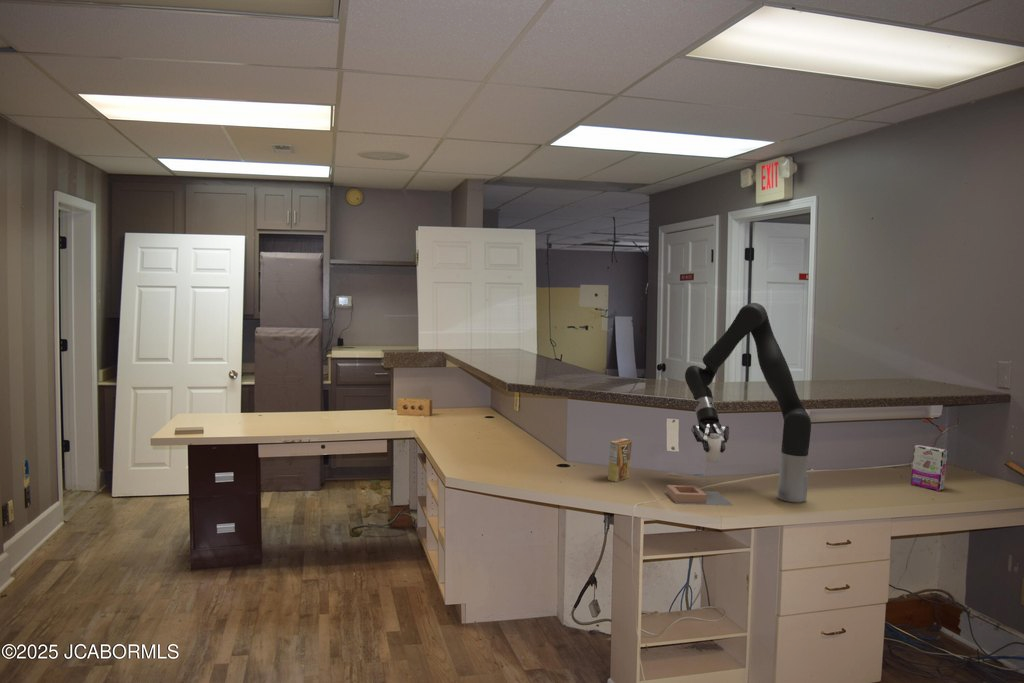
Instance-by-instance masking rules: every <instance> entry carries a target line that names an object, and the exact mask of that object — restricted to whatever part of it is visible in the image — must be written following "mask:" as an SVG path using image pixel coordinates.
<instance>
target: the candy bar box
mask: <svg viewBox="0 0 1024 683" xmlns="http://www.w3.org/2000/svg"><path fill="white" fill-rule="evenodd" d="M912 455H913V456H912V467H911V475H910V478H911V479H910V485H911V486H914V485H915V487H918V486H919V487H918V488H923V489H927V490H932V491H936V492H941V491H943V490H945V480H946V472H947V471H946V469H947V460H948V449H945V448H944V449H943V448H939V447H933V446H927V445H922V444H916V445H914V446H913V454H912Z"/></svg>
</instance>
